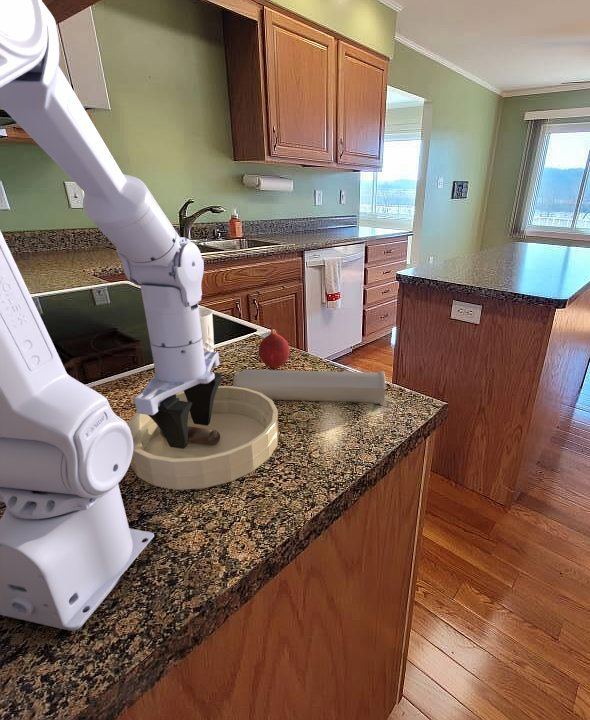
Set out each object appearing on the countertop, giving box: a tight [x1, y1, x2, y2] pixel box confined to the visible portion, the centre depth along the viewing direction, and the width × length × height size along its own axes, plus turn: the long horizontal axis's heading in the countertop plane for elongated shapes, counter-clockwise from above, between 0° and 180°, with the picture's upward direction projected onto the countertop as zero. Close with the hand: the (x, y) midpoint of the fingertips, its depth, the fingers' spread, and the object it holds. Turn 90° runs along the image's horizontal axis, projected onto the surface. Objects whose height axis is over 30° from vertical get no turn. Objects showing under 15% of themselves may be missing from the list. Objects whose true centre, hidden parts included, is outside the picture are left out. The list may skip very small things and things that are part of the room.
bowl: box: [127, 385, 280, 491], centre depth 52 cm, size 18×18×4 cm
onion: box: [258, 328, 291, 370], centre depth 76 cm, size 6×6×8 cm
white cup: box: [199, 307, 215, 352], centre depth 76 cm, size 8×8×10 cm
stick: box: [160, 426, 220, 445], centre depth 53 cm, size 8×2×2 cm, turn 81°
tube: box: [232, 368, 386, 406], centre depth 66 cm, size 5×5×25 cm
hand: (190, 434), depth 53 cm, fingers open, 5 cm apart
